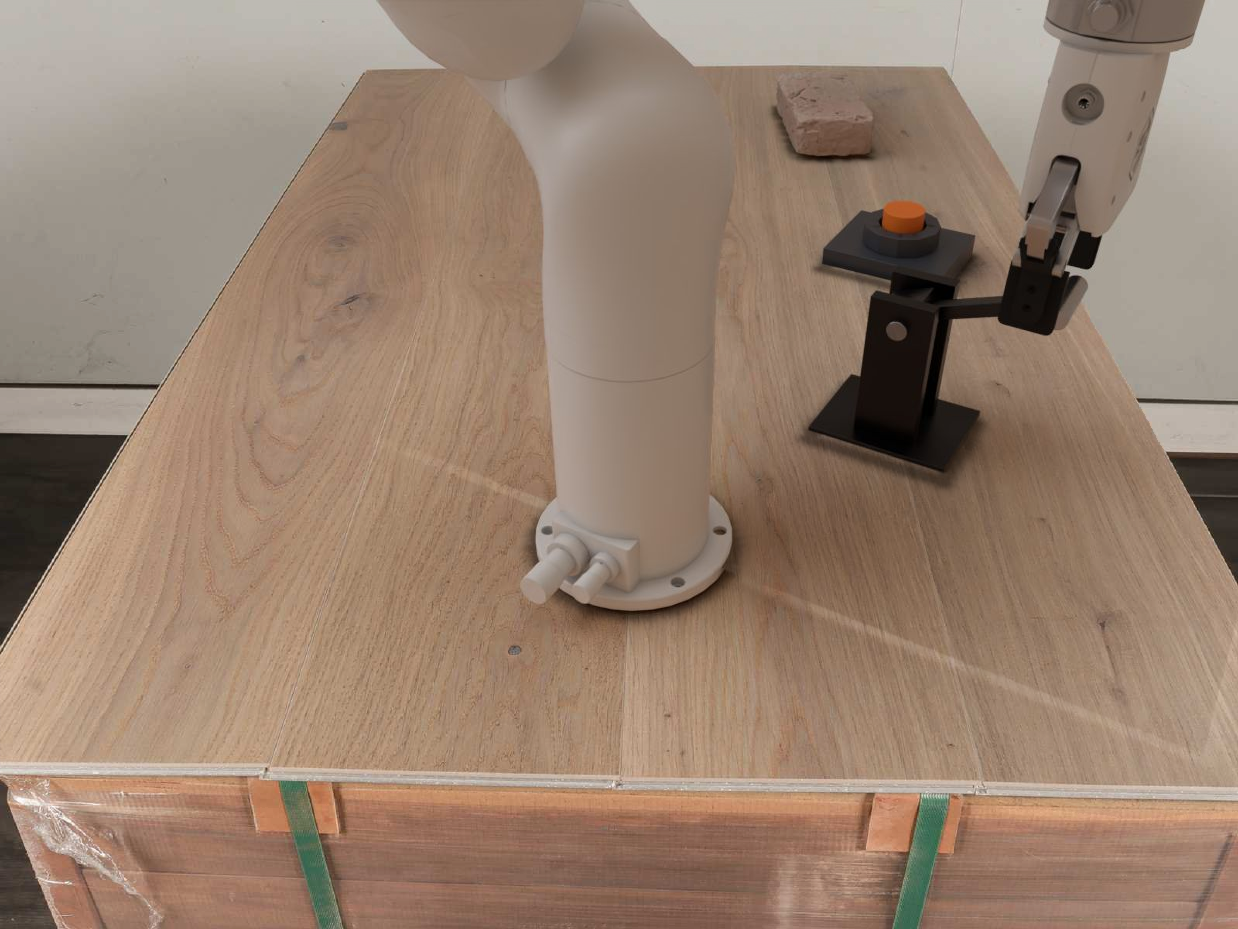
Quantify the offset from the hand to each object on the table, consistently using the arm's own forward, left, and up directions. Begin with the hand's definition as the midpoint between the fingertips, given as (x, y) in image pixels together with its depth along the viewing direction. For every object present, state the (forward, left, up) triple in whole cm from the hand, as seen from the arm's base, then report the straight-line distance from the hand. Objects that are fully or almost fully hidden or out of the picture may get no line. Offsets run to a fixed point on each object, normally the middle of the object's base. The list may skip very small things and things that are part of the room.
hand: (1046, 293), depth 69 cm
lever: (0, +4, -3) cm, 5 cm away
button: (+25, +17, -10) cm, 32 cm away
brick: (+52, +36, -14) cm, 65 cm away
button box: (+25, +17, -14) cm, 34 cm away
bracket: (0, +8, -14) cm, 16 cm away
